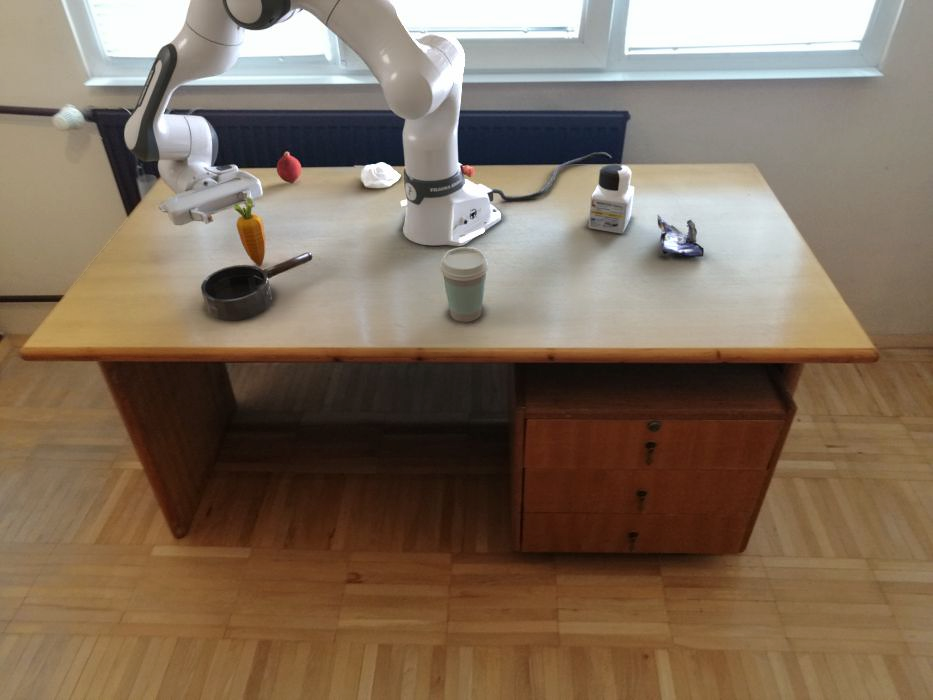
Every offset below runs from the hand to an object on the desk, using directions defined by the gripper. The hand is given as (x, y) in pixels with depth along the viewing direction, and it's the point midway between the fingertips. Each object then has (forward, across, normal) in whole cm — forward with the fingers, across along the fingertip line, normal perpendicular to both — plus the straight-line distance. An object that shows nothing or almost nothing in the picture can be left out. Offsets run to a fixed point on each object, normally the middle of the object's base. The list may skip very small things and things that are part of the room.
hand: (230, 211), depth 148 cm
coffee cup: (+50, +21, +9) cm, 55 cm away
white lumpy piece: (-6, +41, +9) cm, 42 cm away
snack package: (+62, +69, +9) cm, 93 cm away
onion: (-20, +24, +9) cm, 32 cm away
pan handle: (+18, +2, +6) cm, 19 cm away
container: (+46, +66, +9) cm, 81 cm away
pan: (+18, -9, +9) cm, 22 cm away
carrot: (+9, 0, +9) cm, 13 cm away
